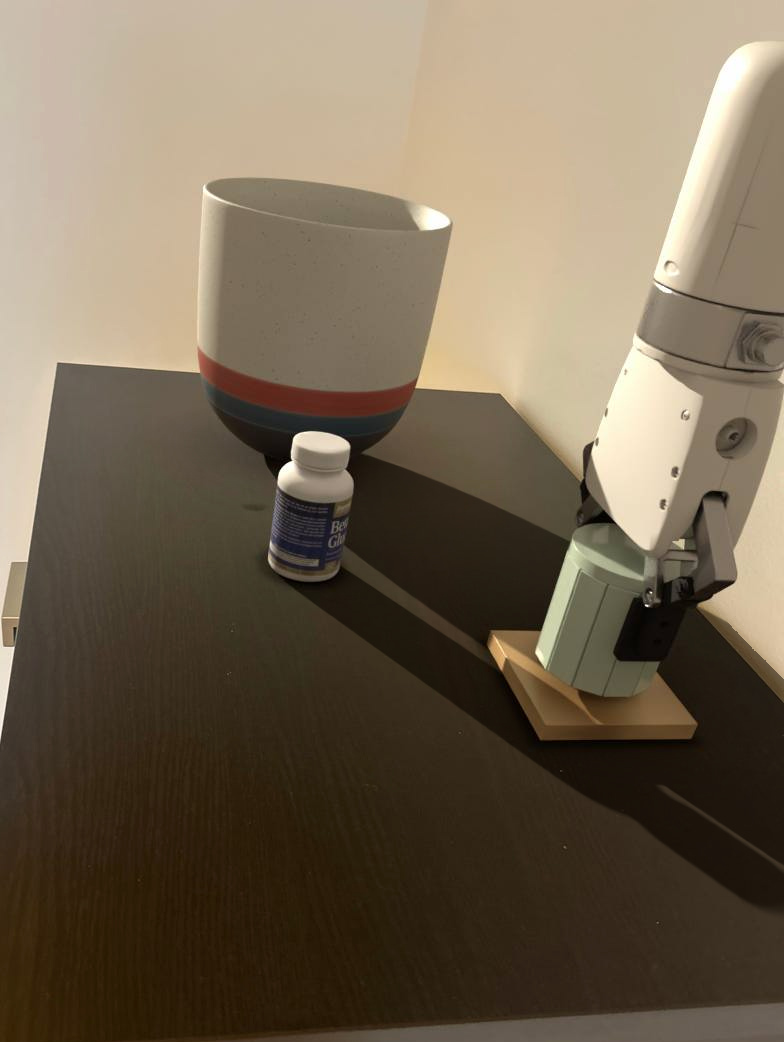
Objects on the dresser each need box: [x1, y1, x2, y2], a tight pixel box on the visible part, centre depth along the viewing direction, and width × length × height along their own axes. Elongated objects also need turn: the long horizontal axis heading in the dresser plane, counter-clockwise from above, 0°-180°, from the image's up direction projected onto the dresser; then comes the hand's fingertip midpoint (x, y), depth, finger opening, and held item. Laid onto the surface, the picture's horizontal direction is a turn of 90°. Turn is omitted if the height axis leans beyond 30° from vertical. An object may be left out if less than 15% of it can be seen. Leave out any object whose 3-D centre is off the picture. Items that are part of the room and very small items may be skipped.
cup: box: [535, 523, 684, 697], centre depth 57 cm, size 7×7×8 cm
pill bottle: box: [267, 431, 355, 583], centre depth 67 cm, size 5×5×10 cm
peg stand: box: [486, 629, 698, 741], centre depth 58 cm, size 10×10×7 cm
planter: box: [196, 176, 454, 463], centre depth 82 cm, size 20×20×21 cm
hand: (609, 619), depth 57 cm, fingers closed on cup, 7 cm apart
